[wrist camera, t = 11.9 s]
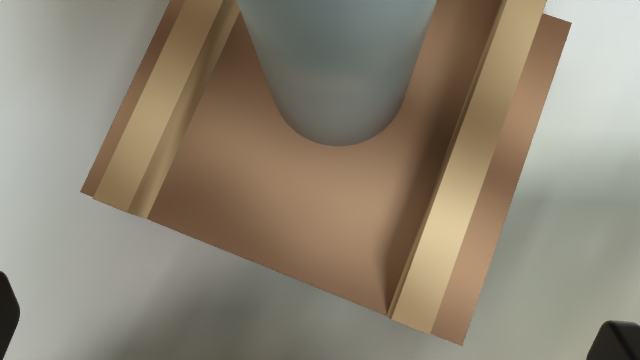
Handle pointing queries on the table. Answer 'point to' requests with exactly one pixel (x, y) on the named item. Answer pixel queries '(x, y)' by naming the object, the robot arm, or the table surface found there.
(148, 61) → the display plinth
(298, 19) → the spectacles tube
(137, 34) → the table surface
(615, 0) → the table surface
